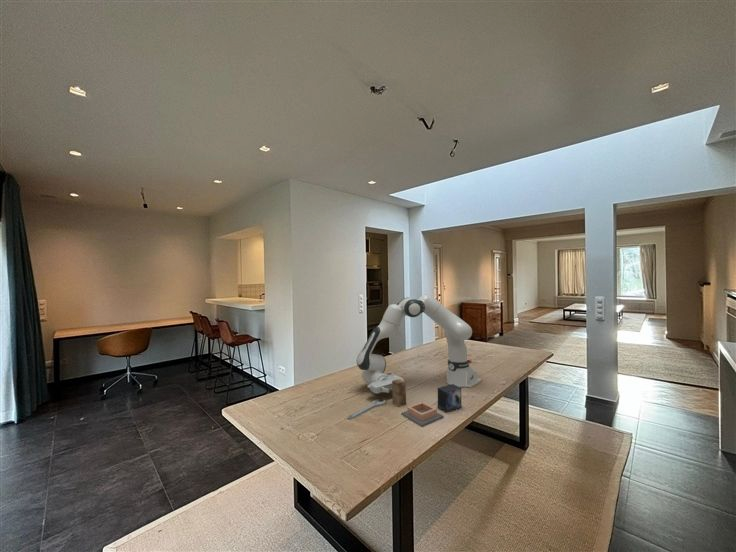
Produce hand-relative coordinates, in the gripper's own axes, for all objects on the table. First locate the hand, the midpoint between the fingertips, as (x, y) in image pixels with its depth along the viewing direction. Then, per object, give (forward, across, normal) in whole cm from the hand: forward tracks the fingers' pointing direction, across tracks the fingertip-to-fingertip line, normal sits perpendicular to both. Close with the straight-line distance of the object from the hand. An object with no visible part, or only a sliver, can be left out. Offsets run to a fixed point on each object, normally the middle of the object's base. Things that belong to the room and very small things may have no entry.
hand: (396, 389), depth 155 cm
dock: (+20, 0, +7) cm, 21 cm away
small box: (+22, +17, +7) cm, 28 cm away
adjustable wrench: (-3, -18, +8) cm, 19 cm away
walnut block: (+3, 0, +7) cm, 7 cm away
